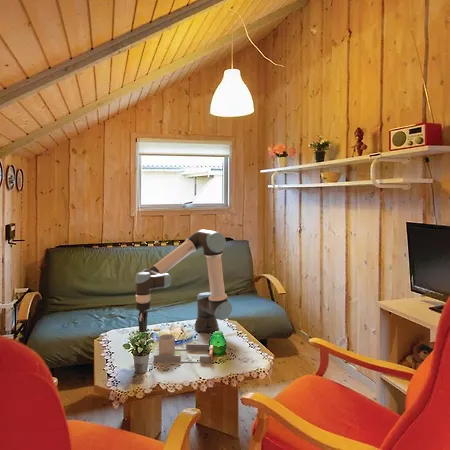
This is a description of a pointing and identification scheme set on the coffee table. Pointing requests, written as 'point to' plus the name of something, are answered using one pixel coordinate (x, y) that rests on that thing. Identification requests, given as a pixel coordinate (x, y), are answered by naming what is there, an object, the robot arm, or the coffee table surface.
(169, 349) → the mug
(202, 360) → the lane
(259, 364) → the coffee table surface
